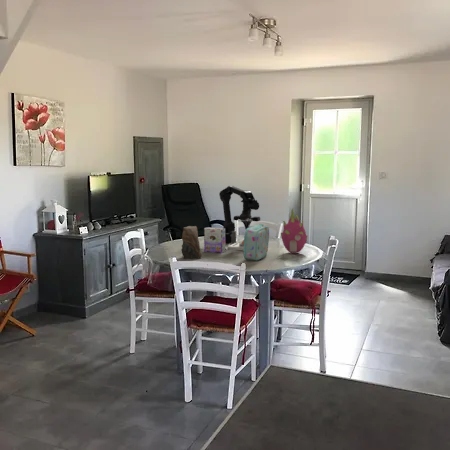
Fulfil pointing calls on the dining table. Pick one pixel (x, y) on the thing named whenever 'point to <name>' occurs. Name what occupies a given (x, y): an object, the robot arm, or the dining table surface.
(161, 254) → the dining table surface
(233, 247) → the panel
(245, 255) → the lunch box
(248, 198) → the robot arm
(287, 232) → the pink dragon fruit
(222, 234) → the candy box
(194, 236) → the owl
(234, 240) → the far post
